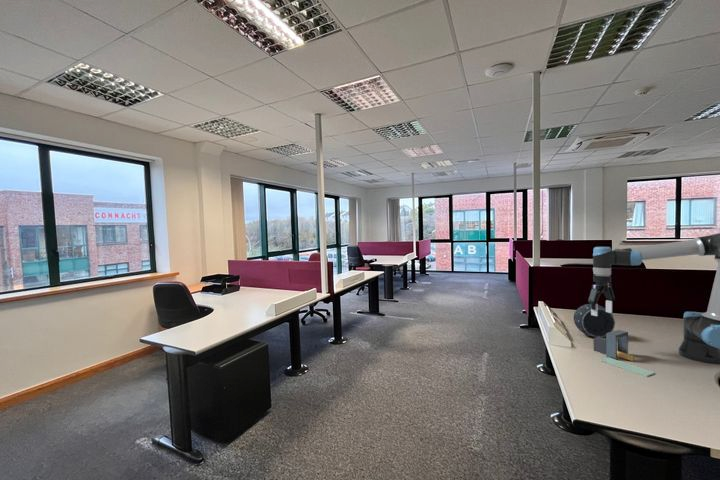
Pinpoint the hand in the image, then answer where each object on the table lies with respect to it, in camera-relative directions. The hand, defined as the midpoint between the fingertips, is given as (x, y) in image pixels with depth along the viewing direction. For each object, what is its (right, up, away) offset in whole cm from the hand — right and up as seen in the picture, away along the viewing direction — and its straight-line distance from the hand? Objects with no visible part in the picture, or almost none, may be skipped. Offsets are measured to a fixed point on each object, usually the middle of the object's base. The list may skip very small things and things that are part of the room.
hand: (601, 314), depth 158 cm
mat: (-3, -21, -18) cm, 28 cm away
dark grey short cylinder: (+15, -20, +23) cm, 34 cm away
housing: (+3, -21, -6) cm, 22 cm away
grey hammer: (+3, -21, -4) cm, 21 cm away
